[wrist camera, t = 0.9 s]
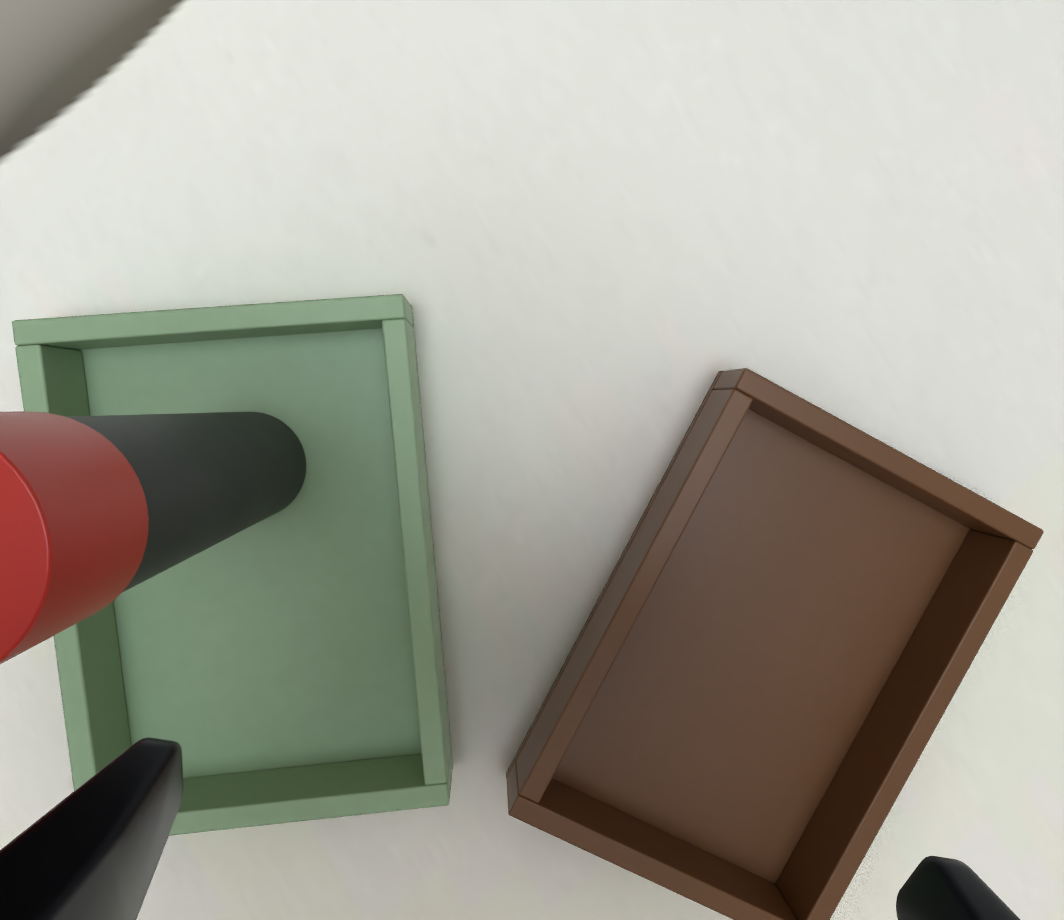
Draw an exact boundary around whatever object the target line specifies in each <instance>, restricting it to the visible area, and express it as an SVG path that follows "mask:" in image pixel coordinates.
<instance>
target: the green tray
mask: <svg viewBox="0 0 1064 920" xmlns="http://www.w3.org/2000/svg"><path fill="white" fill-rule="evenodd" d="M12 327H13V334H14V342H15V344H16V345H18V346H17V347H16V356H17V363H18V371H19V378H20V386H21V393H22V401H23V408H24V412H27V411H30V412H46V413H51V414H57V415H61V416H64V417H70V416H106V415H142V414H178V413H214V412H260V413H265V414H268V415H271V416H273V417H275V418H277V419H279V420H281V421H282V422H284V423H285V424H286V425H287V426H288V427H290V429H291V430H292V431H293V432H294V433H295V434H296V436H297V437H298V439H299V441H300V442H301V444H302V447H303V450H304V453H305V458H306V474H305V479H304V482H303V485H302V488H301V490H300V492H299V493H298V495H297V496H296V498H295V499H294V500H293V501H292V502H291V503H290V504H289V505H288V506H287V507H285V508H284V509H283V510H281V511H279V512H277V513H275V514H273V515H272V516H270V517H268V518H266V519H264V520H262V521H260V522H258V523H256V524H254V525H252V526H250V527H248V528H246V529H244V530H243V531H241V532H239V533H237V534H235V535H233V536H231V537H229V538H227V539H225V540H223V541H221V542H219V543H217V544H215V545H213V546H212V547H210V548H208V549H206V550H204V551H202V552H200V553H198V554H196V555H194V556H192V557H190V558H188V559H186V560H184V561H183V562H181V563H179V564H177V565H175V566H173V567H171V568H169V569H167V570H165V571H163V572H161V573H159V574H157V575H155V576H153V577H152V578H150V579H148V580H146V581H144V582H142V583H140V584H138V585H136V586H134V587H132V588H130V589H128V590H126V591H124V592H123V593H121V594H120V595H119V596H118V597H117V598H116V599H114V600H113V601H112V602H111V603H110V604H109V605H107V606H106V607H104V608H103V609H101V610H100V611H98V612H97V613H95V614H93V615H91V616H89V617H88V618H86V619H84V620H82V621H80V622H78V623H76V624H74V625H73V626H71V627H69V628H67V629H65V630H63V631H61V632H59V633H58V634H56V635H54V642H55V650H56V658H57V665H58V673H59V680H60V688H61V695H62V703H63V710H64V718H65V725H66V733H67V741H68V748H69V756H70V763H71V771H72V778H73V786H74V791H75V790H77V789H78V788H79V787H80V786H82V785H83V784H84V783H85V782H87V781H88V780H89V779H90V778H92V777H93V776H94V775H95V774H97V773H98V772H99V771H100V770H102V769H103V768H104V767H105V766H107V765H108V764H109V763H110V762H112V761H113V760H114V759H115V758H117V757H118V756H119V755H120V754H122V753H123V752H124V751H125V750H127V749H128V748H129V747H131V746H132V745H133V744H134V743H136V742H137V741H139V740H141V739H143V738H148V737H151V738H158V739H164V740H171V741H176V742H178V743H179V744H180V746H181V748H182V762H183V785H184V788H183V796H182V800H181V804H180V807H179V810H178V813H177V815H176V818H175V821H174V823H173V826H172V828H171V831H170V833H169V835H177V834H186V833H196V832H205V831H214V830H223V829H233V828H242V827H251V826H260V825H269V824H279V823H288V822H297V821H306V820H315V819H325V818H334V817H343V816H352V815H362V814H371V813H380V812H389V811H398V810H408V809H417V808H426V807H435V806H444V805H449V801H450V790H451V779H452V769H453V761H452V749H451V738H450V727H449V716H448V704H447V693H446V682H445V671H444V660H443V648H442V637H441V626H440V615H439V603H438V592H437V581H436V570H435V559H434V547H433V536H432V525H431V514H430V502H429V491H428V480H427V469H426V458H425V446H424V435H423V424H422V413H421V401H420V390H419V379H418V368H417V356H416V345H415V334H414V323H413V312H412V305H411V304H410V303H409V302H408V301H407V299H406V298H405V297H404V295H402V294H394V295H380V296H365V297H350V298H336V299H321V300H306V301H292V302H277V303H262V304H248V305H233V306H218V307H204V308H189V309H175V310H160V311H145V312H131V313H116V314H101V315H87V316H72V317H57V318H43V319H28V320H15V321H12Z"/></svg>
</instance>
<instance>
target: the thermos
mask: <svg viewBox="0 0 1064 920" xmlns="http://www.w3.org/2000/svg"><path fill="white" fill-rule="evenodd" d="M305 474H306V458H305V453H304V450H303V447H302V444H301V442H300V441H299V439H298V437H297V436H296V434H295V433H294V432H293V431H292V430H291V429H290V427H288V426H287V425H286V424H285V423H284V422H282V421H281V420H279V419H277V418H275V417H273V416H271V415H268V414H265V413H260V412H214V413H178V414H142V415H106V416H70V417H64V416H61V415H57V414H51V413H46V412H30V411H27V412H0V664H1V663H3V662H5V661H7V660H9V659H11V658H13V657H15V656H16V655H18V654H20V653H22V652H24V651H26V650H28V649H29V648H31V647H33V646H35V645H37V644H39V643H41V642H43V641H44V640H46V639H48V638H50V637H52V636H54V635H56V634H58V633H59V632H61V631H63V630H65V629H67V628H69V627H71V626H73V625H74V624H76V623H78V622H80V621H82V620H84V619H86V618H88V617H89V616H91V615H93V614H95V613H97V612H98V611H100V610H101V609H103V608H104V607H106V606H107V605H109V604H110V603H111V602H112V601H113V600H114V599H116V598H117V597H118V596H119V595H120V594H121V593H123V592H124V591H126V590H128V589H130V588H132V587H134V586H136V585H138V584H140V583H142V582H144V581H146V580H148V579H150V578H152V577H153V576H155V575H157V574H159V573H161V572H163V571H165V570H167V569H169V568H171V567H173V566H175V565H177V564H179V563H181V562H183V561H184V560H186V559H188V558H190V557H192V556H194V555H196V554H198V553H200V552H202V551H204V550H206V549H208V548H210V547H212V546H213V545H215V544H217V543H219V542H221V541H223V540H225V539H227V538H229V537H231V536H233V535H235V534H237V533H239V532H241V531H243V530H244V529H246V528H248V527H250V526H252V525H254V524H256V523H258V522H260V521H262V520H264V519H266V518H268V517H270V516H272V515H273V514H275V513H277V512H279V511H281V510H283V509H284V508H285V507H287V506H288V505H289V504H290V503H291V502H292V501H293V500H294V499H295V498H296V496H297V495H298V493H299V492H300V490H301V488H302V485H303V482H304V479H305Z"/></svg>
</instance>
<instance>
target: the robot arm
mask: <svg viewBox="0 0 1064 920" xmlns="http://www.w3.org/2000/svg"><path fill="white" fill-rule="evenodd" d="M183 788H184V785H183V762H182V748H181V746H180V744H179V743H178V742H176V741H171V740H164V739H158V738H151V737H148V738H143V739H141V740H139V741H137V742H136V743H134V744H133V745H132V746H131V747H129V748H128V749H127V750H125V751H124V752H123V753H122V754H120V755H119V756H118V757H117V758H115V759H114V760H113V761H112V762H110V763H109V764H108V765H107V766H105V767H104V768H103V769H102V770H100V771H99V772H98V773H97V774H95V775H94V776H93V777H92V778H90V779H89V780H88V781H87V782H85V783H84V784H83V785H82V786H80V787H79V788H78V789H77V790H75V791H74V792H73V793H72V794H70V795H69V796H68V797H66V798H65V799H64V800H63V801H61V802H60V803H59V804H58V805H56V806H55V807H54V808H53V809H51V810H50V811H49V812H48V813H46V814H45V815H44V816H43V817H41V818H40V819H39V820H38V821H36V822H35V823H34V824H33V825H31V826H30V827H29V828H28V829H26V830H25V831H24V832H23V833H21V834H20V835H19V836H18V837H16V838H15V839H14V840H13V841H11V842H10V843H9V844H7V845H6V846H5V847H4V848H2V849H1V850H0V920H136V919H137V916H138V913H139V911H140V908H141V906H142V903H143V901H144V898H145V895H146V893H147V890H148V888H149V885H150V882H151V880H152V877H153V875H154V872H155V870H156V867H157V864H158V862H159V859H160V857H161V854H162V851H163V849H164V846H165V844H166V841H167V839H168V836H169V833H170V831H171V828H172V826H173V823H174V821H175V818H176V815H177V813H178V810H179V807H180V804H181V800H182V796H183ZM896 911H897V918H898V920H1020V919H1019V918H1018V917H1017V916H1016V915H1015V914H1014V913H1013V912H1012V911H1011V910H1010V908H1009V907H1008V906H1007V905H1006V904H1005V903H1004V902H1003V901H1002V900H1001V899H1000V898H999V897H998V896H997V895H996V894H995V893H994V892H993V891H992V890H991V889H990V888H989V887H988V886H987V885H986V884H985V883H984V882H983V881H982V880H981V879H980V878H979V876H978V875H977V874H976V873H975V872H974V871H973V870H972V869H971V868H970V867H968V866H967V865H966V864H965V863H963V862H961V861H959V860H956V859H950V858H943V857H937V856H929V857H926V858H924V859H923V860H922V861H921V863H920V864H919V865H918V867H917V868H916V869H915V871H914V872H913V873H912V875H911V876H910V877H909V879H908V880H907V881H906V883H905V884H904V885H903V887H902V888H901V889H900V891H899V893H898V896H897V902H896Z"/></svg>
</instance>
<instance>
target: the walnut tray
mask: <svg viewBox="0 0 1064 920" xmlns="http://www.w3.org/2000/svg"><path fill="white" fill-rule="evenodd" d="M1042 534H1043V530H1042V529H1040V528H1038V527H1037V526H1035V525H1033V524H1031V523H1029V522H1027V521H1026V520H1024V519H1022V518H1020V517H1018V516H1016V515H1015V514H1013V513H1011V512H1009V511H1007V510H1005V509H1004V508H1002V507H1000V506H998V505H996V504H994V503H993V502H991V501H989V500H987V499H985V498H983V497H982V496H980V495H978V494H976V493H974V492H972V491H971V490H969V489H967V488H965V487H963V486H962V485H960V484H958V483H956V482H954V481H952V480H951V479H949V478H947V477H945V476H943V475H941V474H940V473H938V472H936V471H934V470H932V469H930V468H929V467H927V466H925V465H923V464H921V463H919V462H918V461H916V460H914V459H912V458H910V457H908V456H907V455H905V454H903V453H901V452H899V451H897V450H896V449H894V448H892V447H890V446H888V445H886V444H885V443H883V442H881V441H879V440H877V439H876V438H874V437H872V436H870V435H868V434H866V433H865V432H863V431H861V430H859V429H857V428H855V427H854V426H852V425H850V424H848V423H846V422H844V421H843V420H841V419H839V418H837V417H835V416H833V415H832V414H830V413H828V412H826V411H824V410H822V409H821V408H819V407H817V406H815V405H813V404H811V403H810V402H808V401H806V400H804V399H802V398H800V397H799V396H797V395H795V394H793V393H791V392H790V391H788V390H786V389H784V388H782V387H780V386H779V385H777V384H775V383H773V382H771V381H769V380H768V379H766V378H764V377H762V376H760V375H758V374H757V373H755V372H753V371H751V370H749V369H747V368H743V369H736V370H729V371H719V373H718V375H717V376H716V378H715V380H714V382H713V384H712V386H711V388H710V390H709V392H708V393H707V395H706V397H705V399H704V401H703V403H702V405H701V407H700V409H699V410H698V412H697V414H696V416H695V418H694V420H693V422H692V424H691V426H690V427H689V429H688V431H687V433H686V435H685V437H684V439H683V441H682V443H681V444H680V446H679V448H678V450H677V452H676V454H675V456H674V458H673V460H672V461H671V463H670V465H669V467H668V469H667V471H666V473H665V475H664V477H663V478H662V480H661V482H660V484H659V486H658V488H657V490H656V492H655V494H654V495H653V497H652V499H651V501H650V503H649V505H648V507H647V509H646V511H645V512H644V514H643V516H642V518H641V520H640V522H639V524H638V526H637V528H636V529H635V531H634V533H633V535H632V537H631V539H630V541H629V543H628V544H627V546H626V548H625V550H624V552H623V554H622V556H621V558H620V560H619V561H618V563H617V565H616V567H615V569H614V571H613V573H612V575H611V577H610V578H609V580H608V582H607V584H606V586H605V588H604V590H603V592H602V594H601V595H600V597H599V599H598V601H597V603H596V605H595V607H594V609H593V611H592V612H591V614H590V616H589V618H588V620H587V622H586V624H585V626H584V628H583V629H582V631H581V633H580V635H579V637H578V639H577V641H576V643H575V645H574V646H573V648H572V650H571V652H570V654H569V656H568V658H567V660H566V662H565V663H564V665H563V667H562V669H561V671H560V673H559V675H558V677H557V679H556V680H555V682H554V684H553V686H552V688H551V690H550V692H549V694H548V696H547V697H546V699H545V701H544V703H543V705H542V707H541V709H540V711H539V713H538V714H537V716H536V718H535V720H534V722H533V724H532V726H531V728H530V730H529V731H528V733H527V735H526V737H525V739H524V741H523V743H522V745H521V747H520V748H519V750H518V752H517V754H516V756H515V758H514V760H513V762H512V764H511V765H510V767H509V769H508V771H507V773H506V778H507V797H508V814H509V815H510V816H512V817H515V818H517V819H519V820H521V821H523V822H525V823H527V824H530V825H532V826H534V827H536V828H538V829H540V830H542V831H545V832H547V833H549V834H551V835H553V836H555V837H558V838H560V839H562V840H564V841H566V842H568V843H570V844H573V845H575V846H577V847H579V848H581V849H583V850H585V851H588V852H590V853H592V854H594V855H596V856H598V857H600V858H603V859H605V860H607V861H609V862H611V863H613V864H616V865H618V866H620V867H622V868H624V869H626V870H628V871H631V872H633V873H635V874H637V875H639V876H641V877H643V878H646V879H648V880H650V881H652V882H654V883H656V884H658V885H661V886H663V887H665V888H667V889H669V890H671V891H673V892H676V893H678V894H680V895H682V896H684V897H686V898H689V899H691V900H693V901H695V902H697V903H699V904H701V905H704V906H706V907H708V908H710V909H712V910H714V911H716V912H719V913H721V914H723V915H725V916H727V917H729V918H731V919H734V920H830V918H831V916H832V914H833V913H834V911H835V909H836V907H837V905H838V904H839V902H840V900H841V898H842V896H843V895H844V893H845V891H846V889H847V887H848V885H849V884H850V882H851V880H852V878H853V876H854V875H855V873H856V871H857V869H858V867H859V866H860V864H861V862H862V860H863V858H864V857H865V855H866V853H867V851H868V849H869V848H870V846H871V844H872V842H873V840H874V838H875V837H876V835H877V833H878V831H879V829H880V828H881V826H882V824H883V822H884V820H885V819H886V817H887V815H888V813H889V811H890V810H891V808H892V806H893V804H894V802H895V801H896V799H897V797H898V795H899V793H900V791H901V790H902V788H903V786H904V784H905V782H906V781H907V779H908V777H909V775H910V773H911V772H912V770H913V768H914V766H915V764H916V763H917V761H918V759H919V757H920V755H921V754H922V752H923V750H924V748H925V746H926V744H927V743H928V741H929V739H930V737H931V735H932V734H933V732H934V730H935V728H936V726H937V725H938V723H939V721H940V719H941V717H942V716H943V714H944V712H945V710H946V708H947V706H948V705H949V703H950V701H951V699H952V697H953V696H954V694H955V692H956V690H957V688H958V687H959V685H960V683H961V681H962V679H963V678H964V676H965V674H966V672H967V670H968V669H969V667H970V665H971V663H972V661H973V659H974V658H975V656H976V654H977V652H978V650H979V649H980V647H981V645H982V643H983V641H984V640H985V638H986V636H987V634H988V632H989V631H990V629H991V627H992V625H993V623H994V622H995V620H996V618H997V616H998V614H999V612H1000V611H1001V609H1002V607H1003V605H1004V603H1005V602H1006V600H1007V598H1008V596H1009V594H1010V593H1011V591H1012V589H1013V587H1014V585H1015V584H1016V582H1017V580H1018V578H1019V576H1020V575H1021V573H1022V571H1023V569H1024V567H1025V565H1026V564H1027V562H1028V560H1029V558H1030V556H1031V555H1032V553H1033V550H1032V549H1034V548H1035V547H1036V545H1037V543H1038V541H1039V540H1040V538H1041V536H1042Z"/></svg>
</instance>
